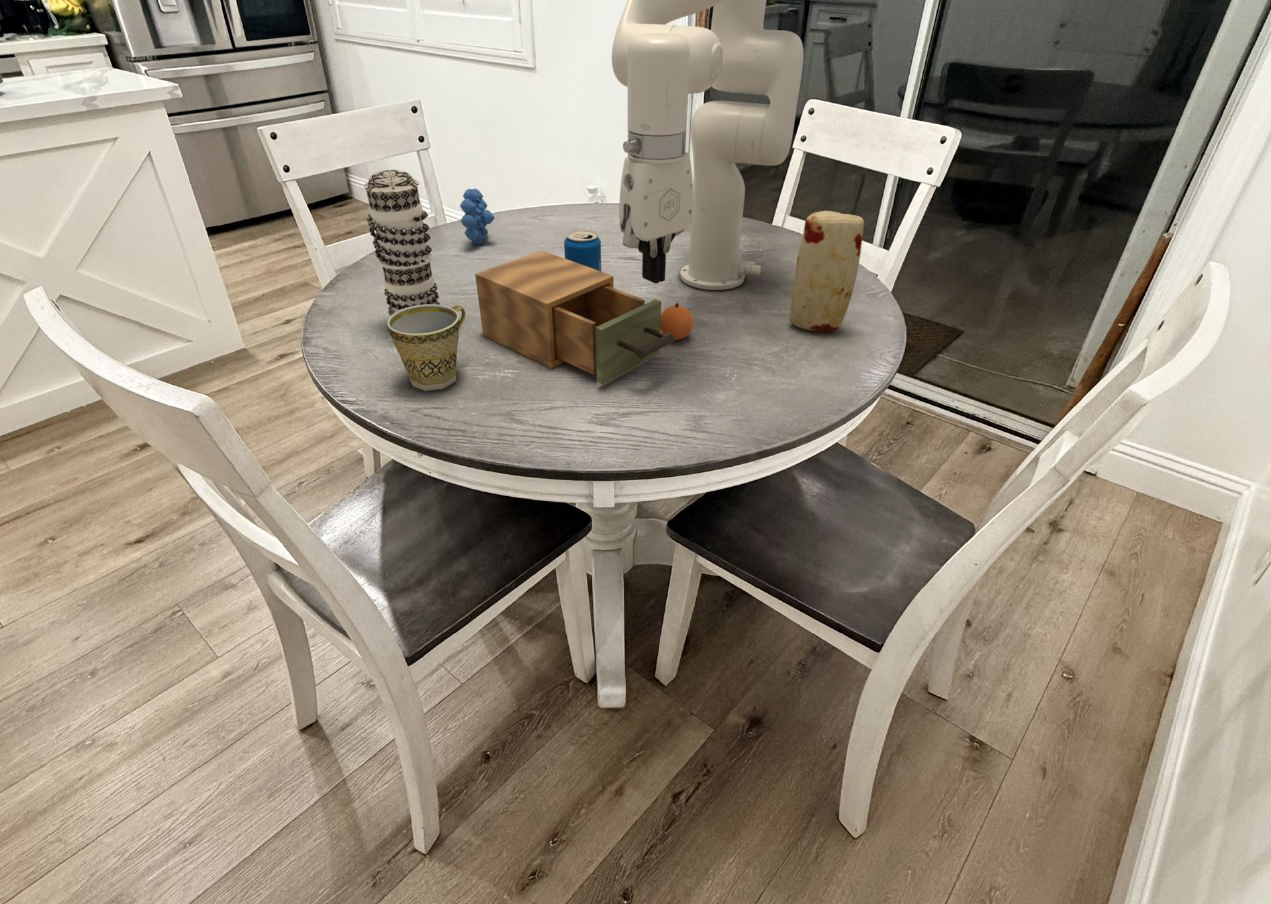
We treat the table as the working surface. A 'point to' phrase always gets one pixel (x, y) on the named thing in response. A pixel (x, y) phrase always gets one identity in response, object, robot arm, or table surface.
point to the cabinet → (531, 300)
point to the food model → (826, 270)
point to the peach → (676, 321)
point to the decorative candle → (401, 239)
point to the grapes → (475, 215)
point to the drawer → (608, 332)
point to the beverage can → (583, 248)
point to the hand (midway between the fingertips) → (653, 279)
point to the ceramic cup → (427, 343)
